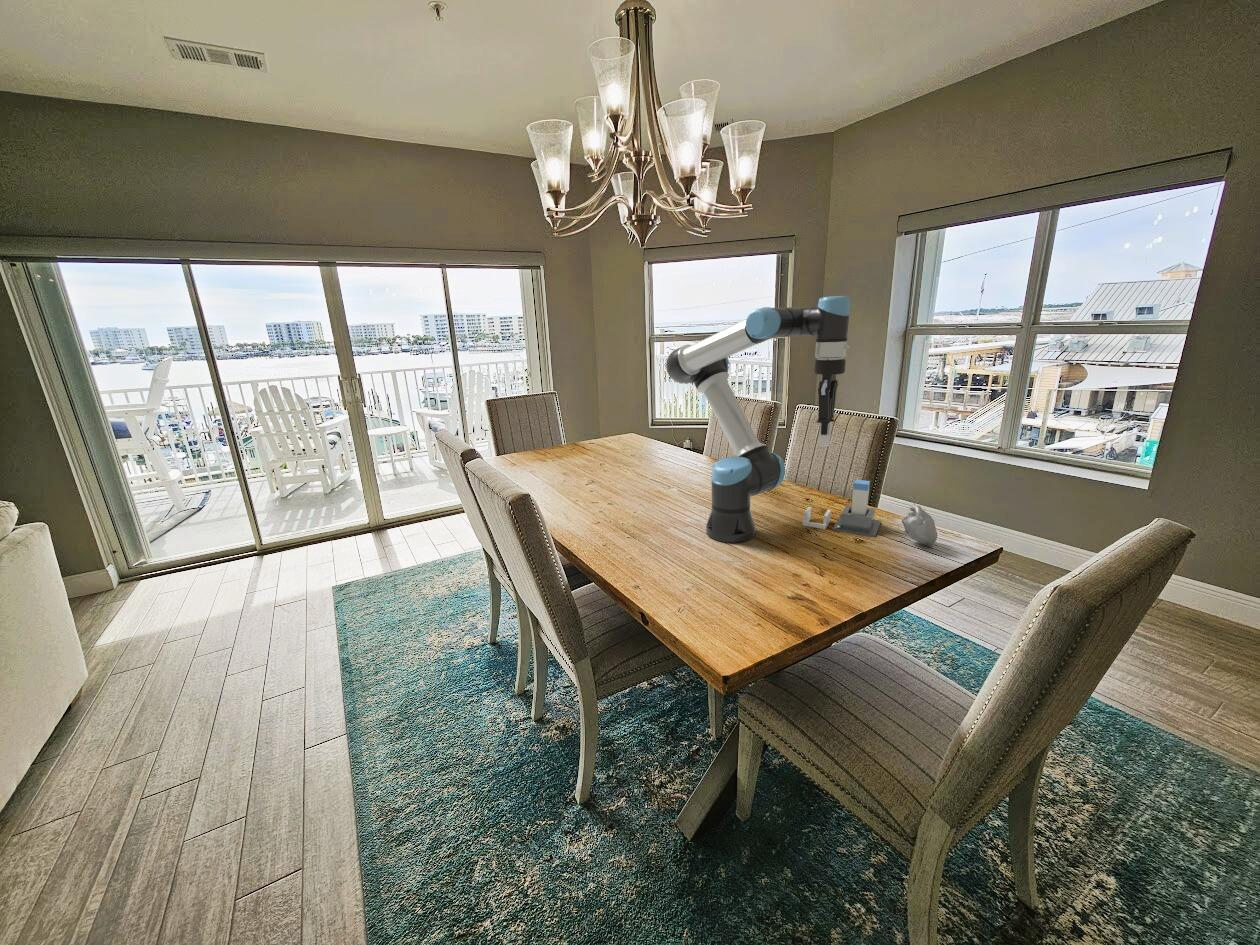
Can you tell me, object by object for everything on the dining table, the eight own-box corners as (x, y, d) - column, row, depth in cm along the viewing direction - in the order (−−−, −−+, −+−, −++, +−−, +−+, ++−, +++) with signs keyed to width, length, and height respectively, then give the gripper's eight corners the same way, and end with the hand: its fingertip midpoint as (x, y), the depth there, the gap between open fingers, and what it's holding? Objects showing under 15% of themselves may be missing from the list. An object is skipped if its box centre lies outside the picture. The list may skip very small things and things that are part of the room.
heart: (913, 554, 131) (926, 513, 128) (889, 539, 140) (901, 501, 137) (944, 556, 133) (958, 515, 130) (919, 541, 142) (931, 503, 138)
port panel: (832, 529, 149) (833, 515, 148) (840, 516, 160) (841, 501, 158) (875, 537, 143) (876, 521, 141) (880, 522, 153) (882, 507, 152)
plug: (849, 525, 150) (853, 483, 146) (851, 521, 154) (855, 479, 150) (864, 527, 148) (868, 484, 144) (865, 523, 152) (869, 481, 148)
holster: (802, 525, 154) (803, 513, 152) (807, 518, 159) (808, 506, 158) (825, 529, 150) (826, 517, 149) (830, 521, 155) (831, 510, 154)
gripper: (840, 360, 119) (833, 452, 126) (850, 356, 129) (843, 441, 136) (809, 360, 123) (804, 449, 130) (821, 356, 133) (815, 439, 140)
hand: (824, 445), depth 133 cm, fingers closed
